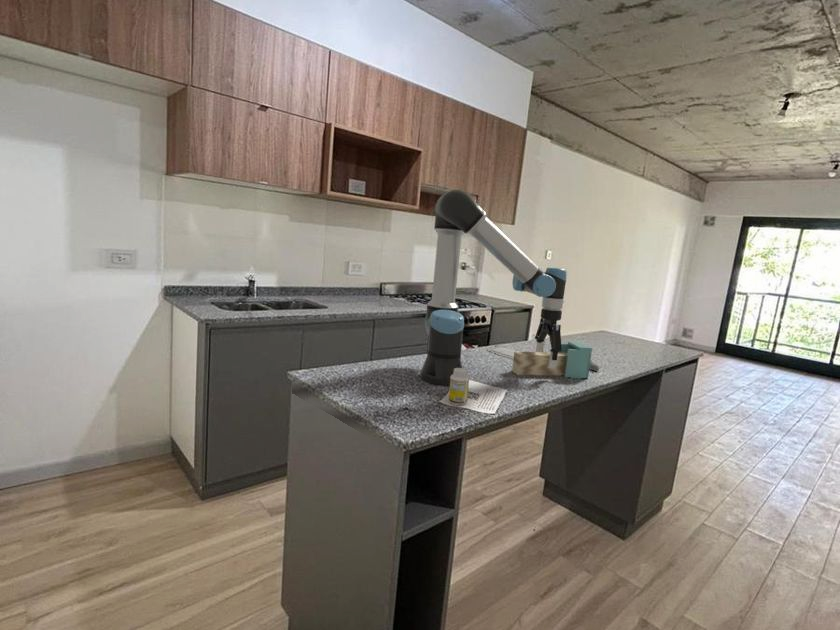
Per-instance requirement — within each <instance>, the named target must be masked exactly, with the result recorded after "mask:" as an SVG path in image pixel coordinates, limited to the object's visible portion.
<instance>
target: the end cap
mask: <svg viewBox="0 0 840 630" xmlns="http://www.w3.org/2000/svg"><path fill="white" fill-rule="evenodd" d="M561 346H562V351H559V352H558V353H567V360H566V368H565V375H564V378H565V377H571V378H570V379H581V378H588V379H589V373H590V368H589V367H590V361H592V360H591V359H592V353H593V348H592V347H591V346H589V345H587V344H585V343H583V342H581V341H567V343H561Z"/></svg>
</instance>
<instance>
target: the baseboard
mask: <svg viewBox="0 0 840 630" xmlns="http://www.w3.org/2000/svg"><path fill="white" fill-rule="evenodd" d="M496 347H497V348H496ZM487 351H492V352H495V353H497V354H499V355H498V356H501V355H502V356H501V357H504V356H505V357H504V358H507V357H508V358H507V359H510V358H511V360H513V359H514V352H518V351H517V350H514V349H510V348H506V347H501V346H498V345H494V347H493V346H492V347H490V348H489V349H486V352H487ZM497 354H496V355H497Z"/></svg>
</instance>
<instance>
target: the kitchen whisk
mask: <svg viewBox="0 0 840 630" xmlns="http://www.w3.org/2000/svg"><path fill="white" fill-rule="evenodd" d="M589 370H591V371H593V370H594V371H593V372H595V371H597V372H600V368H599V366H598V365H597V364H596V363H594V362H593V361H592V360H590V367H589Z"/></svg>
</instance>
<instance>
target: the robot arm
mask: <svg viewBox="0 0 840 630" xmlns="http://www.w3.org/2000/svg"><path fill="white" fill-rule="evenodd" d="M433 209H434V210H433V211H434V216H435V218H434V228H433V229H434V231H435V232H436V234H437V239H436V242H437V243H436V251H435V261H434V262H435V263H434V272H433V283H432V294H431V300H430V301H428V303H427V305H426V311H425V312H426V313H425V316H424V318H423V319H424V320H423V326H424V330H425V332H426V334H427V336H428V339H427V340H428V341H427V352H426V353H427V354H426V357H425V359H424V362H423V365H422V367H421V370H420V379H421V380H423V381H425V382H427V383H430V384H434V385H439V386H450V377H451V375H452V374H453V372H454V369H455V368H463V365H462V358H461V357H462V347H463V336H464V327H465V317H464V316H463V315H462V314H461V313H460V312H459V305H458V304H457V303H456V295H457V294H456V293H457V284H458V274H459V265H460V264H459V263H460V254H461V245H462V237H463V236H464V235H467V234H469V235H471V237H473V239H475V240H476V241H477V242H478V243H479V244H481V246H483V247H484V248H485V249H486V250H487V251H488V252H489V253H490V254H491V256H493V257H494V258H495V259H496V260H498V261H499V262H500V263H501V264H502V265H503V266H504V267H505V268H506V269H507V270H508V271H510V272H511V274H513V277H512V289H513V290H514V291H517V292H527V293H530V294H533V295H535V296H537V297H538V298H541V297H542V301H541V307H542V308H541V310H540V319H539V320H540V321H539V325H538V328H537V330H536V334H535V336H534V339H535V340H536V347H535V352H544V349H545V348H544V347H545V343H546V342H545V341H546V340H545V339H546V337H549V342H550V347H551V349H549V352H550V358H549V366H548V368H553V369H556V365H557V357H558V352H559V351H562V346H561V344H562V335H561V334H562V333H561V330H562V329H561V328H562V327H561V326H562V325H561V324H558V323H557V322H558V321H561V320H562V313H563V311H562V309H563V304H564V303H565V301H564V298H565V292H566V291H565V290H566V284H567V274H568V273H567V269H565V268H561V267H547V268H545V269H546V270H545V272H544V271H543V270H542V269H541V268H540V267H539V266H538V265H536V263H535V262H534V261H533V260H531V259H530V258H529V257H528V256H527V255H526V254H525V252H524V251H522V250H521V248H519V247H518V246H517V245H516V244H515V243H514V242H513V241H512V240H511V239H510V238H509V237H508V236H507V235H505V233H504V232H502V230H500V229H499V227H497V226H496V225H495V224H494V223H493V221H491V220H490V219H489V218H488V217H487V216H486V215H487V213H486V211H485V210H484V209H483V208H482V207H481V206H480V205H479V203H478V202H477V201H475V200H474V198H473V197H472V196H471V195H470V194H468V193H467V192H465V191H464V190H461V189H451V190H449V191H447V192H445V193H444V194H442V195H441V196H439V197H438V199H437V200H436V202H435V205H434V208H433ZM463 369H464V368H463Z"/></svg>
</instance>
